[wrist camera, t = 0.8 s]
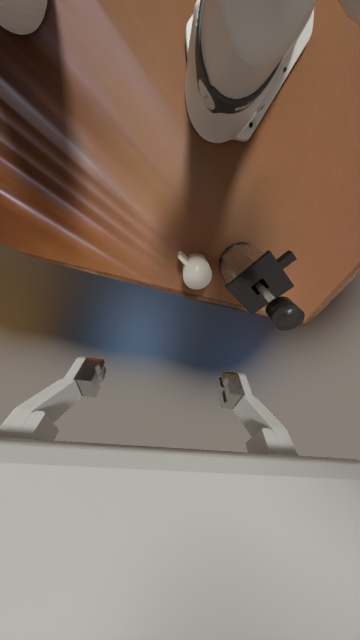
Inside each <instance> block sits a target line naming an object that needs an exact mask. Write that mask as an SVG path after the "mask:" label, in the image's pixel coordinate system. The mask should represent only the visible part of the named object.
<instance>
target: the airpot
mask: <svg viewBox="0 0 360 640" xmlns="http://www.w3.org/2000/svg"><path fill="white" fill-rule="evenodd" d="M295 260H296V257H295V256H294V254H293V252H291V251H289V250H288V251H287V252H286V253H284V254H283V255H282V256H281V257H279V258H278V259H277V260H276V259H275V257H274V256H273V255H272V253H271V252H270V251H269V250H268V251H267V252H266V253H263V252H261V251H259V250H258V249H256V248H255V247H253V246H252V245H250V244H248V243H244V242H240V243H235V244H233V245H231V246H230V247H228V248H227V249H226V250H225V251H224V252H223V254H222V256H221V258H220V262H219V268H220V271H221V273H222V275H223V277H224V278H225V280H226V282H227V285H226V288H227V289H228V290H229V291H230V292H231V293H232V294H233V295H234V296H235V297H236V299H237V300H238V301H239V302H240V303H241V304H242V305H243V306H244V307H245V308H246V309H247V310H248V311H249V312H250V313H251V314H254V313H255V312H257V311H258V310H260V309H261V308H263V307H264V306H266V305H267V304H268V303H269V302H268V301H267V300H266V299H265V298H264V296H263V295H262V294H261V293H260V292H259V291H258V289H257V288H256V287H255V286H254V284H256V283H257V282H258V281H260V282H261V284H262V285H263V286H264V287H265V288H266V289H267V290H268V291H269V292H270V293H271V294H272V295H273V296H274V297H275V298H277V297H279V296H280V295H282V294H283V293H285V292H286V291H288V290H289V289H291V288H292V287H294V285H293V284H292V282H291V281H290V279H289V278H288V276H287V275H286V274H285V272H284V271H283V269H284V268H285V267H287V266H288V265H289V264H291V263H292V262H293V261H295Z"/></svg>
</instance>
